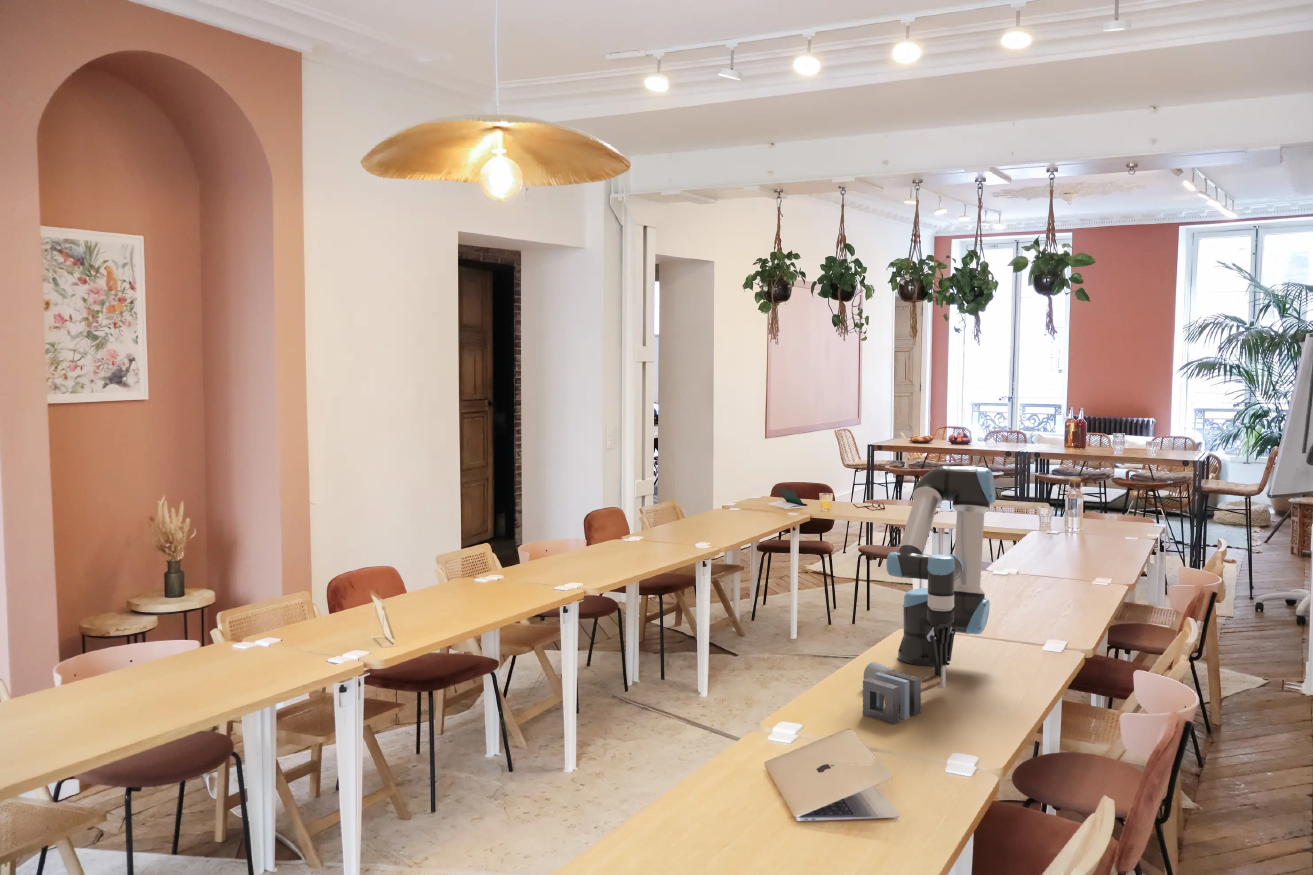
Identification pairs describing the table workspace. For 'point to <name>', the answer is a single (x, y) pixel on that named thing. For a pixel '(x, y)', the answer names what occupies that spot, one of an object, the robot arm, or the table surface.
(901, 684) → the aperture arch
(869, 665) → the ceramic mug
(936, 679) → the air tube
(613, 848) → the table surface
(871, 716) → the collar
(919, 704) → the square frame
